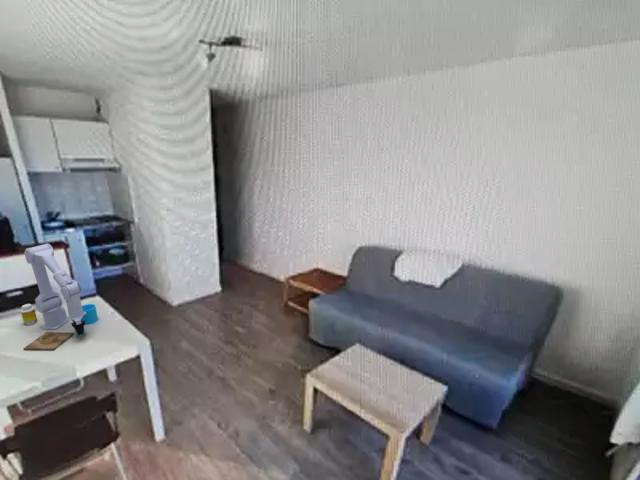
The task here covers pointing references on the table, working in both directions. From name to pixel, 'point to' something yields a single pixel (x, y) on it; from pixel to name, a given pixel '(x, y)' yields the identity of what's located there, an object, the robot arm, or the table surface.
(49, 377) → the table surface
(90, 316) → the mug
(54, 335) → the brass collar
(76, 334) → the teal peg
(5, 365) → the table surface
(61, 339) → the socket board
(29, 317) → the supplement bottle
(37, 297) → the robot arm
